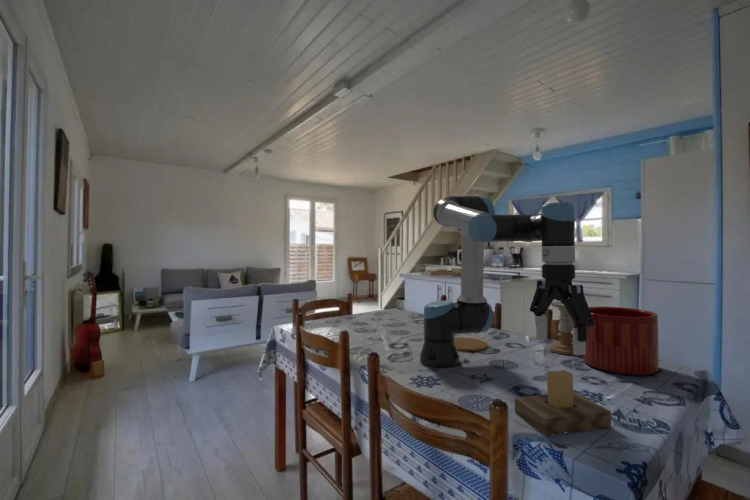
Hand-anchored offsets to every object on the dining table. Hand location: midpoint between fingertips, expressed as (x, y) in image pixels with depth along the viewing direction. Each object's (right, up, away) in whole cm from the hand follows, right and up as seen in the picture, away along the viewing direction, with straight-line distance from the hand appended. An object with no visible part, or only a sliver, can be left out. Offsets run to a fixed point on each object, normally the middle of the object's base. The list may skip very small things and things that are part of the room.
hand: (558, 346), depth 89 cm
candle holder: (+34, -19, +59) cm, 71 cm away
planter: (+43, -18, +39) cm, 61 cm away
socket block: (0, -19, 0) cm, 19 cm away
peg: (0, -19, 0) cm, 19 cm away
